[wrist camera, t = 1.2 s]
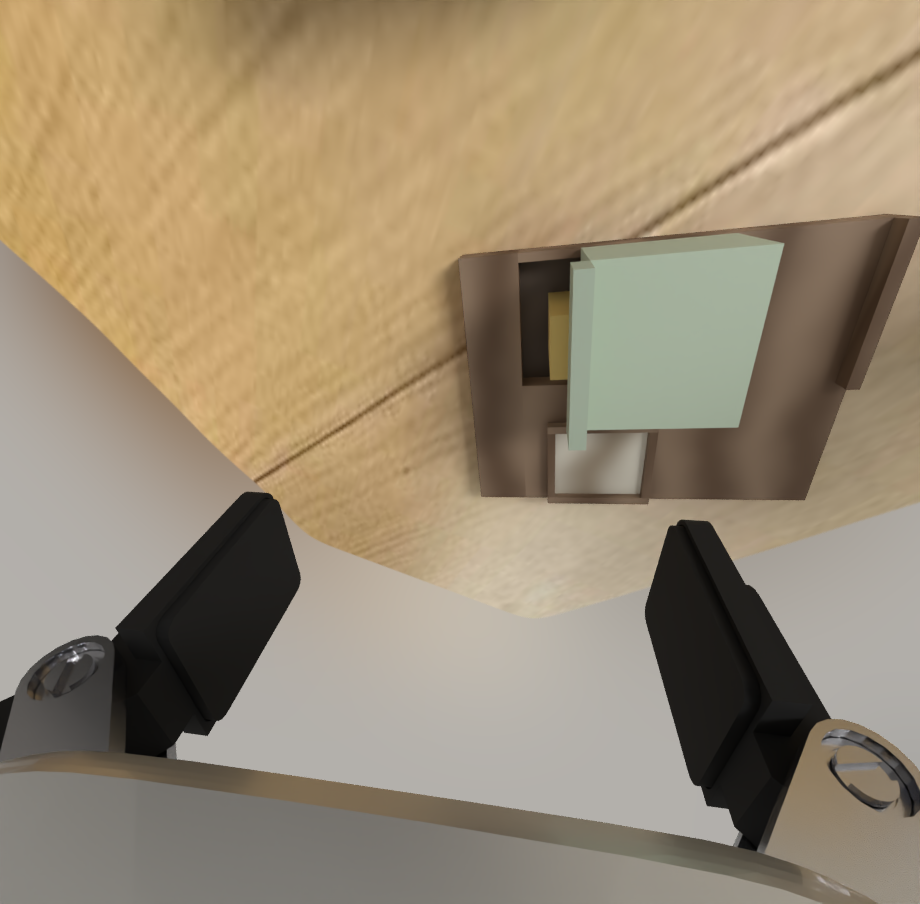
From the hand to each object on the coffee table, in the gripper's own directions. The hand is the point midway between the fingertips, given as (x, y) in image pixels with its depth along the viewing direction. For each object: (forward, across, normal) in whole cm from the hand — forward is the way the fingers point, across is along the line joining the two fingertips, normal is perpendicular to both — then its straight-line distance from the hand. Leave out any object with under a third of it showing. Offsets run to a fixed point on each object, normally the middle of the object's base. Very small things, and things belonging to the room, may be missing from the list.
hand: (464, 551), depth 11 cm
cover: (+23, -9, 0) cm, 25 cm away
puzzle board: (+25, -11, +5) cm, 28 cm away
